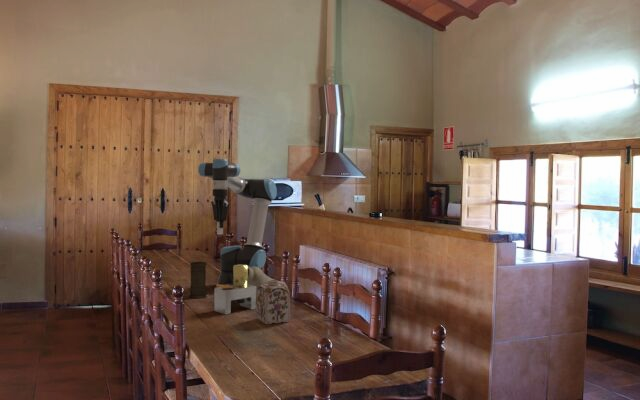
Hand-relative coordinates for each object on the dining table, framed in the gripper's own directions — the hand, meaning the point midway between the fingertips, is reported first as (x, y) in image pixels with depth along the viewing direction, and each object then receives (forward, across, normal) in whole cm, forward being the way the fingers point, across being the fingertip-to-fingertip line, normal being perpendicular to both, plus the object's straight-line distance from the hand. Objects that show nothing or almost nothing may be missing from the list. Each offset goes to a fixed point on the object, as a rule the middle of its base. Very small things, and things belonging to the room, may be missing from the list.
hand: (220, 234), depth 286 cm
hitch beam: (+34, +24, -8) cm, 42 cm away
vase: (+34, +17, +16) cm, 41 cm away
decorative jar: (+34, +51, -7) cm, 61 cm away
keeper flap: (+22, +23, -13) cm, 35 cm away
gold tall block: (+31, +24, -5) cm, 39 cm away
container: (+34, -12, -5) cm, 37 cm away
